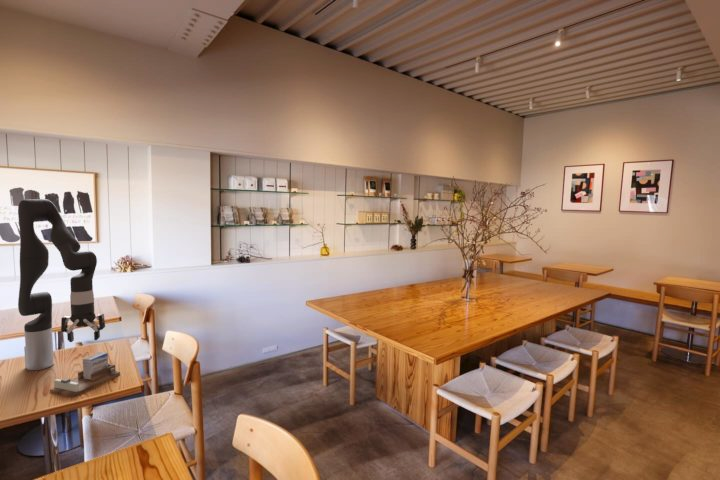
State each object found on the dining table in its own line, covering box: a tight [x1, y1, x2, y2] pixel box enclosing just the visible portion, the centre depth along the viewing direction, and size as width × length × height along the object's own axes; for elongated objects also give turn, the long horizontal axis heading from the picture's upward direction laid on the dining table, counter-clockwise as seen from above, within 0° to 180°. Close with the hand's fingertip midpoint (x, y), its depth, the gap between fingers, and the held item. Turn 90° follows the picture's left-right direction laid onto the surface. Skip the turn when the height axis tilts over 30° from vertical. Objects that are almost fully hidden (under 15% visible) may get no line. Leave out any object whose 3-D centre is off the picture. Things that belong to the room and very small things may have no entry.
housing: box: [49, 363, 121, 398], centre depth 153 cm, size 12×20×4 cm, turn 165°
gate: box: [53, 377, 79, 392], centre depth 145 cm, size 11×2×4 cm, turn 75°
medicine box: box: [82, 351, 109, 380], centre depth 157 cm, size 8×4×9 cm, turn 166°
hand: (84, 340), depth 151 cm, fingers open, 8 cm apart
